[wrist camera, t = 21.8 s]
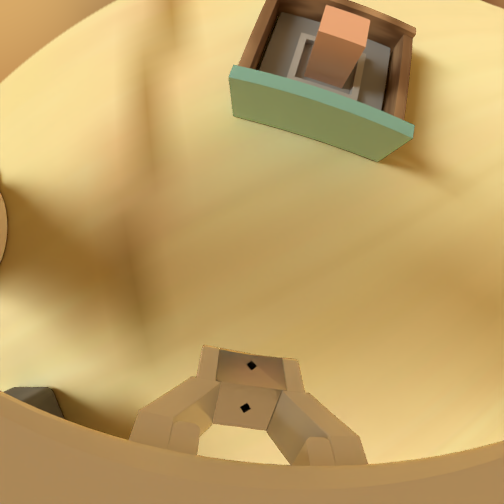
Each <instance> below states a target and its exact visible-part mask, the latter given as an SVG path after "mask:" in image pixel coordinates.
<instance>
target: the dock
mask: <svg viewBox="0 0 504 504" xmlns="http://www.w3.org/2000/svg"><path fill="white" fill-rule="evenodd" d="M326 5H329V6H332V7H335V8H338V9H341V10H344V11H347V12H350V13H353V14H356V15H358V16H361V17H364V18H366V19H369V20H370V25H369V31H368V37H367V39H369V40H372V41H374V42H377V43H379V44H382V45H384V46H387V47H389V48H390V57H389V64H388V71H387V78H386V85H385V91H384V97H383V103H382V109H381V111H383V112H386V113H388V114H390V115H393V116H395V117H397V118H400V119H402V120H404V116H405V109H406V101H407V93H408V85H409V76H410V65H411V54H412V40H413V37H414V36H415V35H416V28H415V27H413V26H410V25H408V24H406V23H404V22H402V21H400V20H397V19H395V18H393V17H391V16H388V15H386V14H383V13H381V12H378V11H376V10H373V9H371V8H368V7H366V6H363V5H360V4H358V3H355V2H352V1H349V0H266V2H265V4H264V6H263V8H262V11H261V13H260V15H259V17H258V20H257V22H256V24H255V27H254V29H253V31H252V34H251V36H250V38H249V41H248V43H247V45H246V48H245V50H244V53H243V55H242V57H241V60H240V62H239V65H238V66H242V67H246V68H250V69H254V70H257V68H258V65H259V63H260V60H261V57H262V55H263V52H264V50H265V47H266V44H267V42H268V39H269V37H270V34H271V32H272V29H273V26H274V24H275V21H276V19H277V16H278V17H280V14H281V12H284V13H288V14H292V15H296V16H300V17H303V18H307V19H310V20H314V21H317V22H321V19H322V16H323V13H324V10H325V6H326Z"/></svg>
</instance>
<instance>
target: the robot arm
mask: <svg viewBox="0 0 504 504" xmlns="http://www.w3.org/2000/svg"><path fill="white" fill-rule="evenodd" d="M6 238H7V214H6V208H5V204H4V201H3V198H2V196H1V193H0V262H1V259H2V256H3V253H4V249H5V245H6ZM212 423H213V424H220V425H228V426H237V427H244V428H251V429H258V430H266V432H267V433H268V435H269V436H270V437H271V439H272V440H273V442H274V443H275V444H276V446H277V447H278V449H279V450H280V451H281V453H282V454H283V455H284V457H285V458H286V459H287V461H288V462H289V463H290V465H277V464H263V463H251V462H241V461H233V460H225V459H218V458H211V457H204V456H198V455H197V452H198V444H199V437H200V436H201V435H202V434H203V433H204V432H205V431H206V430H207V429H208V428H209V427H210V426H211V425H212ZM0 504H504V441H500V442H497V443H493V444H489V445H485V446H482V447H478V448H473V449H469V450H465V451H460V452H455V453H450V454H445V455H440V456H434V457H428V458H421V459H415V460H407V461H399V462H390V463H379V464H368V462H367V459H366V456H365V453H364V450H363V447H362V443H361V440H360V437H359V436H358V435H357V434H356V433H354V432H353V431H352V430H351V429H350V428H349V427H347V426H346V425H345V424H344V423H343V422H342V421H340V420H339V419H338V418H337V417H336V416H335V415H334V414H332V413H331V412H330V411H329V410H328V409H327V408H326V407H324V406H323V405H322V404H321V403H320V402H319V401H318V400H317V399H315V398H314V397H313V396H312V395H311V394H310V393H305V390H304V385H303V381H302V376H301V372H300V367H299V363H298V360H297V359H290V358H277V357H269V356H262V355H255V354H250V353H245V352H240V351H234V350H229V349H224V348H220V349H219V347H213V346H208V345H203V347H202V352H201V357H200V362H199V367H198V372H197V377H190V378H189V379H187V380H186V381H184V382H183V383H181V384H180V385H178V386H176V387H175V388H173V389H172V390H170V391H169V392H167V393H166V394H164V395H162V396H161V397H159V398H158V399H156V400H154V401H153V402H151V403H150V404H148V405H146V406H145V407H143V408H142V409H140V410H139V412H138V414H137V417H136V420H135V423H134V426H133V429H132V431H131V434H130V437H129V440H126V439H123V438H119V437H116V436H112V435H109V434H106V433H103V432H100V431H96V430H93V429H90V428H87V427H84V426H82V425H79V424H76V423H73V422H70V421H68V420H65V419H63V418H60V417H57V416H55V415H52V414H50V413H47V412H45V411H43V410H40V409H38V408H36V407H33V406H31V405H29V404H27V403H24V402H22V401H20V400H18V399H16V398H14V397H12V396H10V395H8V394H6V393H4V392H2V391H0Z"/></svg>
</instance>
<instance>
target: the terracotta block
mask: <svg viewBox="0 0 504 504" xmlns="http://www.w3.org/2000/svg"><path fill="white" fill-rule="evenodd" d="M369 25H370V20H369V19H366V18H364V17H361V16H358V15H356V14H353V13H350V12H347V11H344V10H341V9H338V8H335V7H332V6H329V5H326V6H325V10H324V13H323V16H322V19H321V22H320V25H319V28H318V32H317V35H316V38H315V41H314V44H313V47H312V51H311V54H310V57H309V61H308V64H307V67H306V71H305V74H304V76H305V77H308V78H311V79H315V80H318V81H321V82H324V83H327V84H330V85H333V86H336V87H339V88H341V89H342V87H343V85H344V84H345V82H346V80H347V78H348V77H349V75H350V73H351V72H352V70H353V68H354V66H355V65H356V63H357V61H358V59H359V58H360V56H361V54H362V53H363V51H364V49H365V47H366V42H367V37H368V31H369Z"/></svg>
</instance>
